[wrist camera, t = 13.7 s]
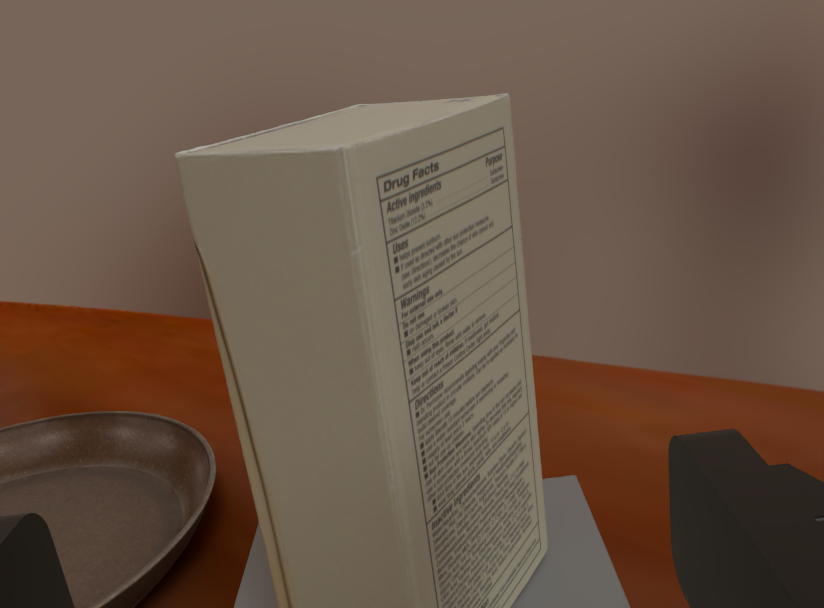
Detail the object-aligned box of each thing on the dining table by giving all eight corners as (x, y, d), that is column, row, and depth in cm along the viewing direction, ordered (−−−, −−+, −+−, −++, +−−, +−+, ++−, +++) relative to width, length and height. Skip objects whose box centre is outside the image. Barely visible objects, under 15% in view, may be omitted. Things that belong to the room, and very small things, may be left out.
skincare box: (420, 517, 23) (357, 103, 19) (558, 554, 21) (518, 88, 17) (279, 663, 18) (158, 148, 15) (438, 732, 16) (344, 136, 12)
